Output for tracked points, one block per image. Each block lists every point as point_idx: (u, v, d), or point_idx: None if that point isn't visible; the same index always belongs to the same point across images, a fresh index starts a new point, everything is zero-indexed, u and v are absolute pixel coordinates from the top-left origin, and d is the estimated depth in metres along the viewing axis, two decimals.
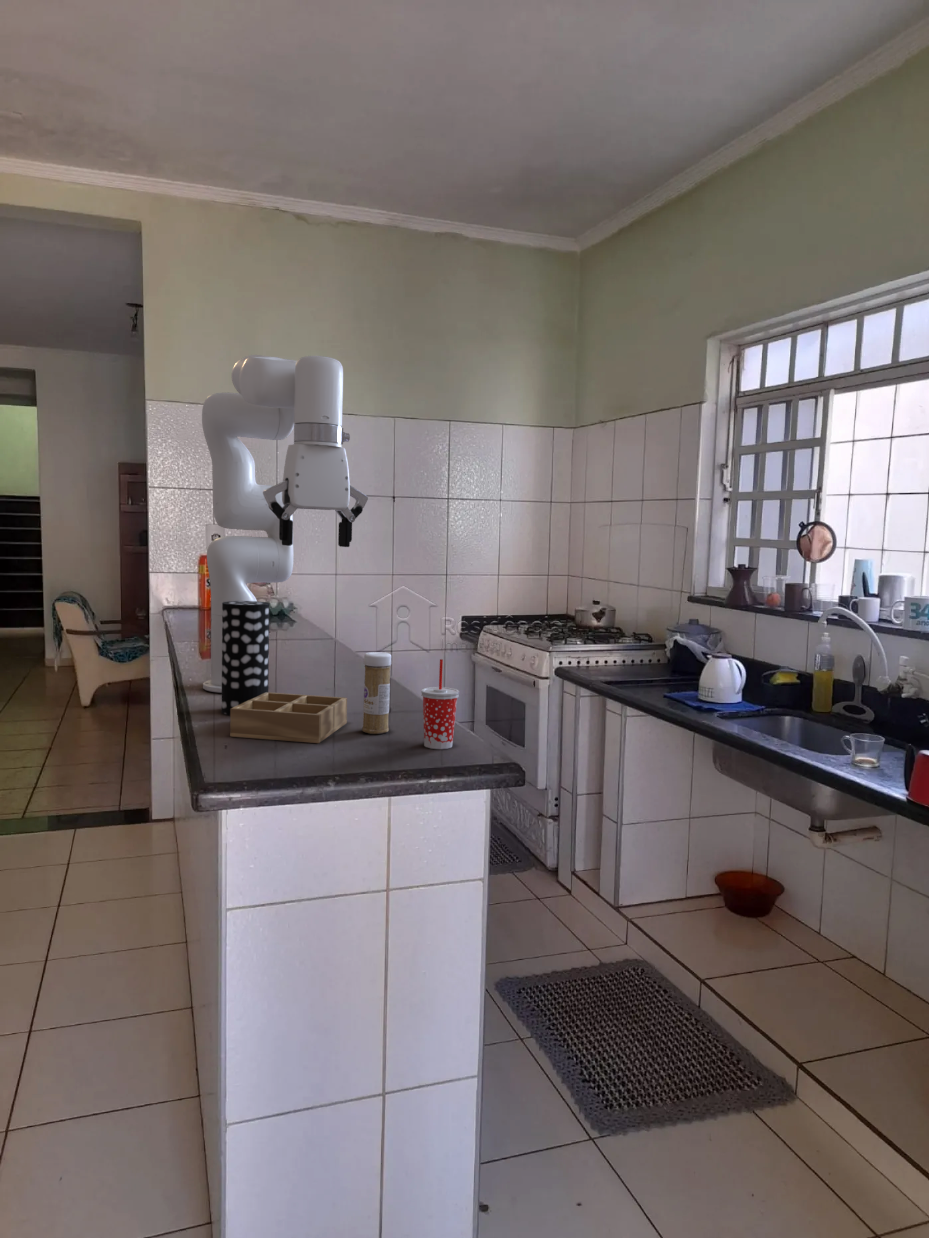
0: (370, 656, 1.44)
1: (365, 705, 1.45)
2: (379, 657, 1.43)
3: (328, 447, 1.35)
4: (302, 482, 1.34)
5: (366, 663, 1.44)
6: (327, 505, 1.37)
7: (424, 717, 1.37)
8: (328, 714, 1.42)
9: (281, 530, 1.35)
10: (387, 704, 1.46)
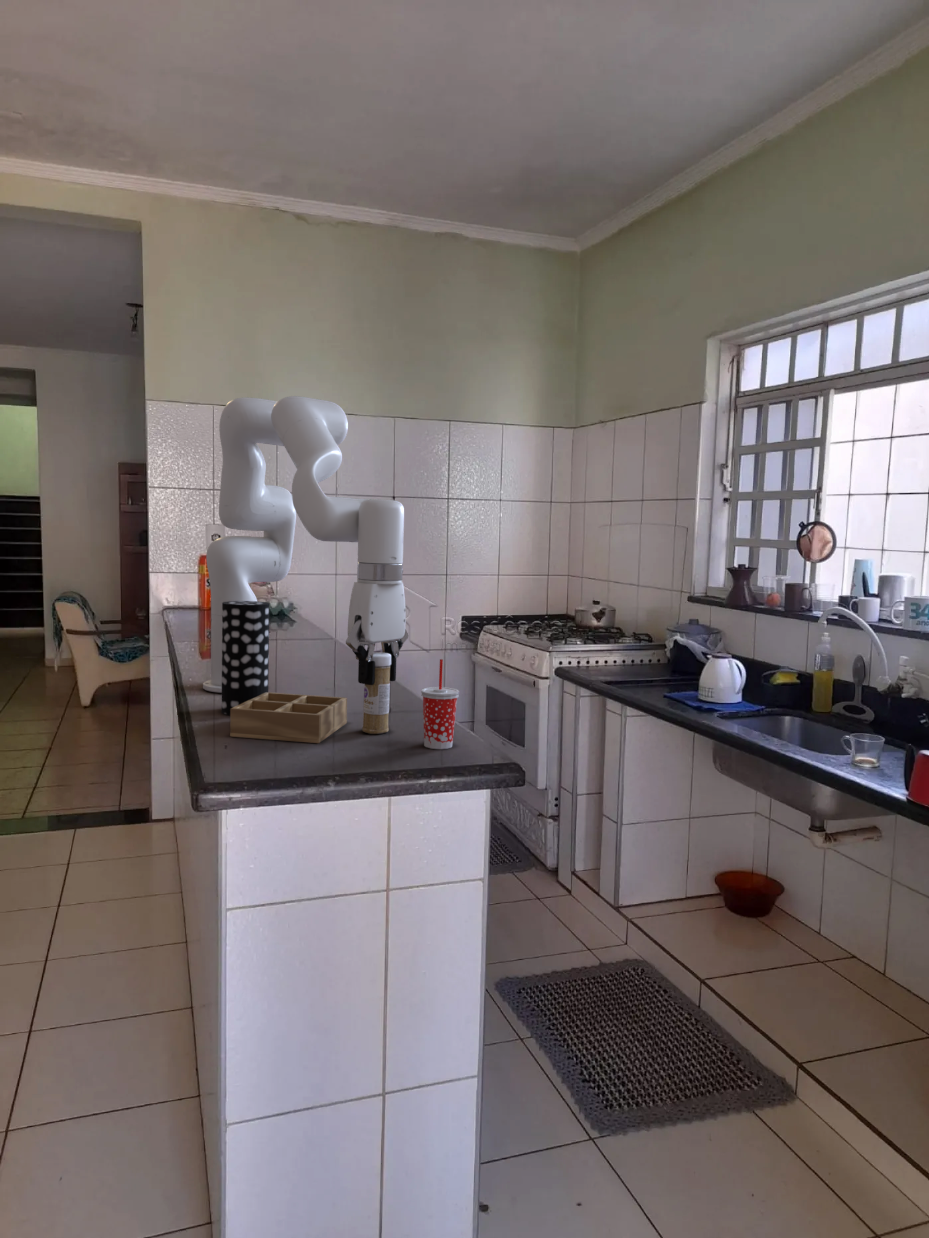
0: None
1: (365, 705, 1.45)
2: (379, 657, 1.43)
3: (394, 584, 1.43)
4: (375, 619, 1.41)
5: None
6: (391, 637, 1.45)
7: (424, 717, 1.37)
8: (328, 714, 1.42)
9: (363, 671, 1.43)
10: (387, 704, 1.46)
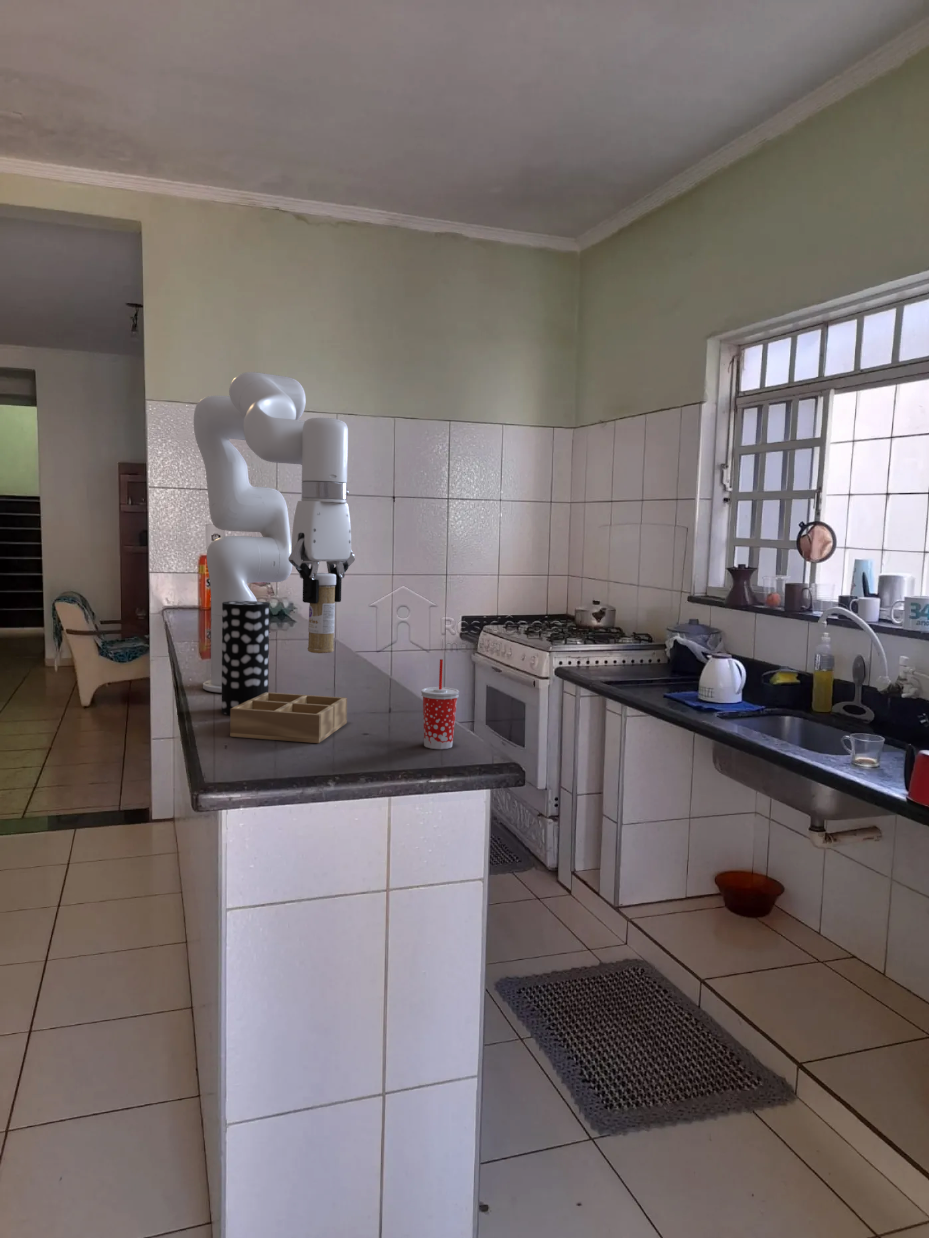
0: None
1: (310, 624, 1.46)
2: (323, 576, 1.44)
3: (338, 503, 1.44)
4: (318, 537, 1.42)
5: None
6: (335, 557, 1.46)
7: (424, 717, 1.37)
8: (328, 714, 1.42)
9: (307, 589, 1.43)
10: (332, 624, 1.46)
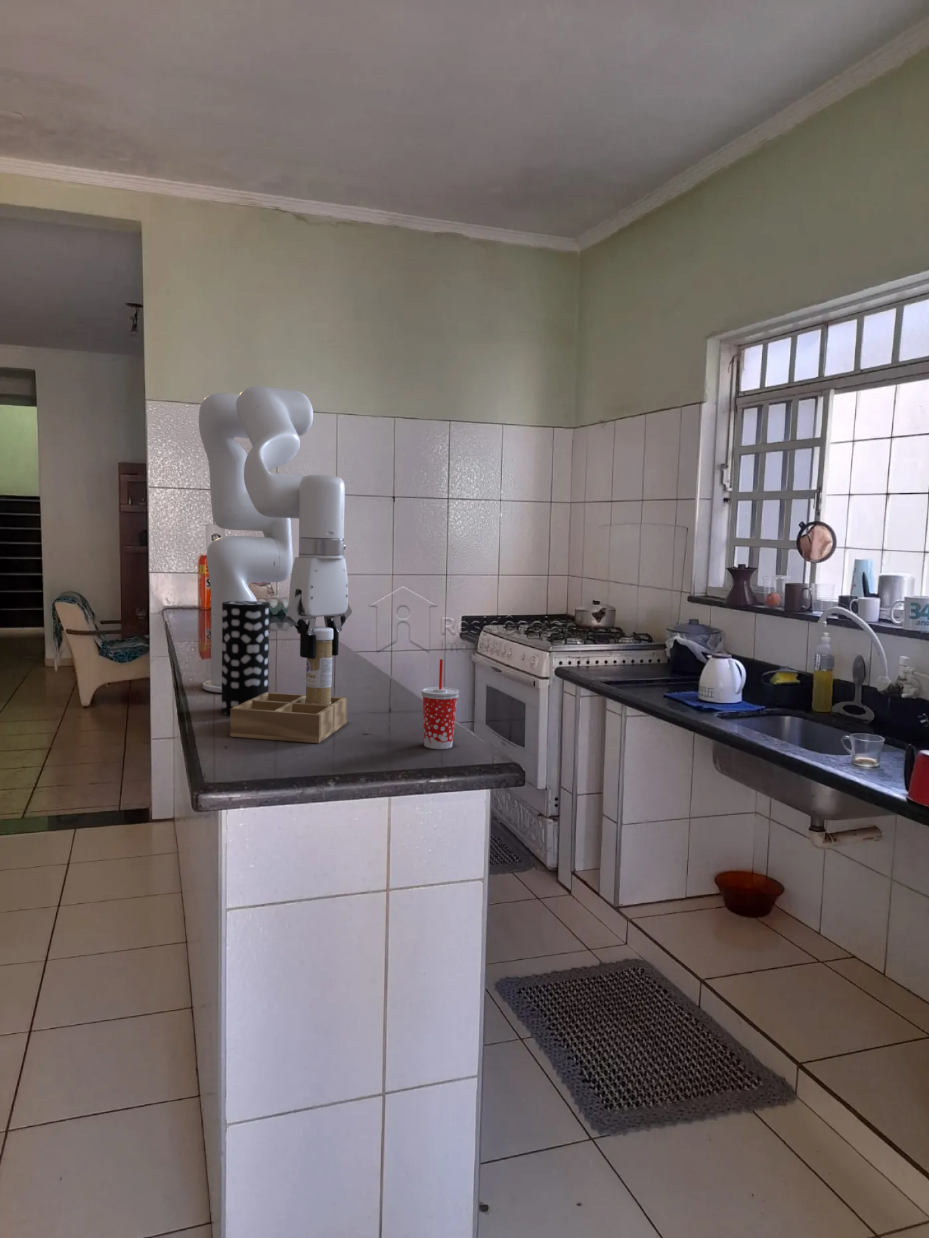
0: None
1: (307, 679, 1.47)
2: (320, 631, 1.45)
3: (335, 559, 1.45)
4: (315, 593, 1.43)
5: None
6: (332, 612, 1.47)
7: (424, 717, 1.37)
8: (328, 714, 1.42)
9: (304, 644, 1.44)
10: (329, 678, 1.47)
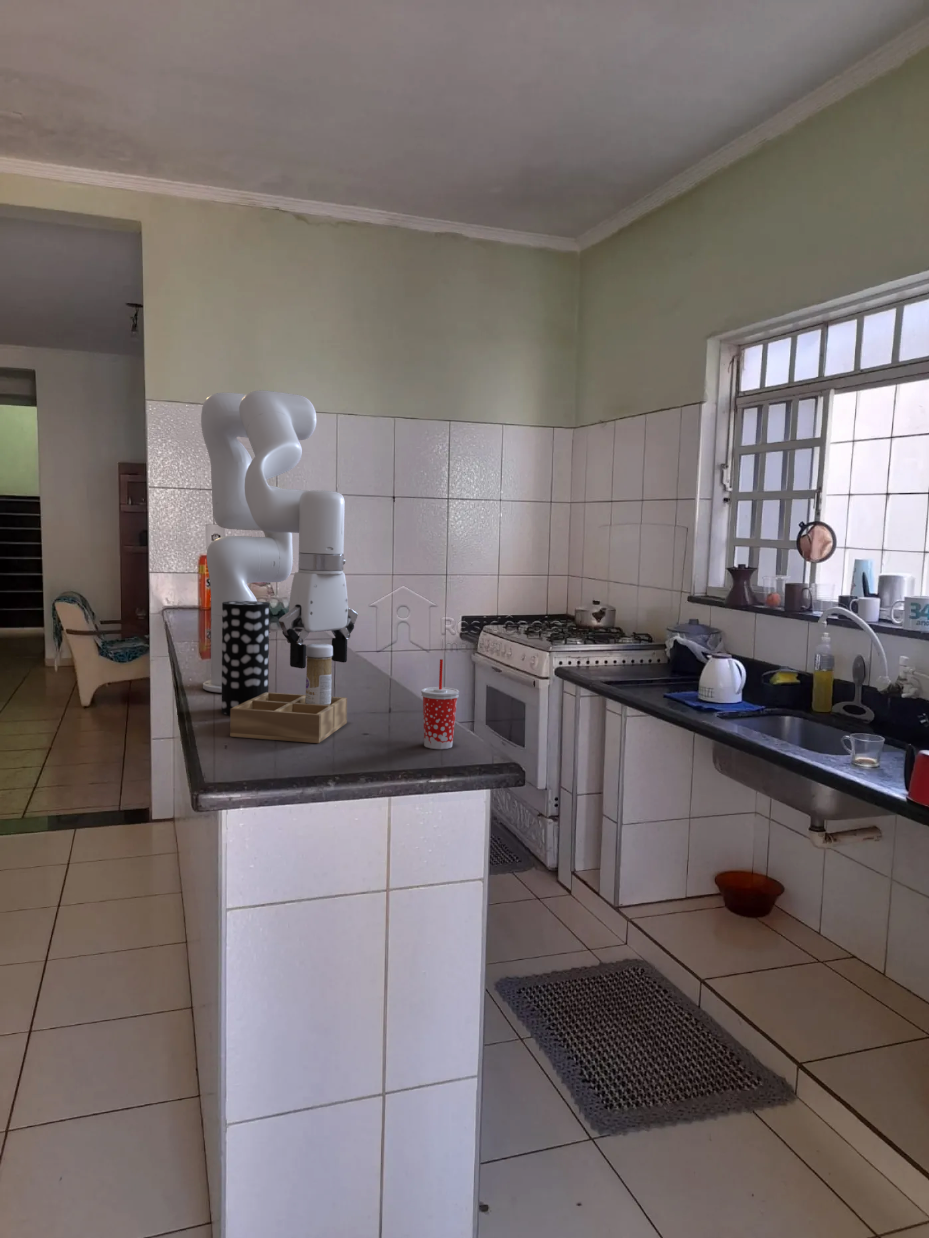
0: (311, 647, 1.46)
1: (307, 696, 1.47)
2: (320, 648, 1.45)
3: (334, 574, 1.46)
4: (315, 609, 1.43)
5: (307, 655, 1.46)
6: (332, 627, 1.47)
7: (424, 717, 1.37)
8: (328, 714, 1.42)
9: (294, 654, 1.43)
10: (328, 695, 1.48)
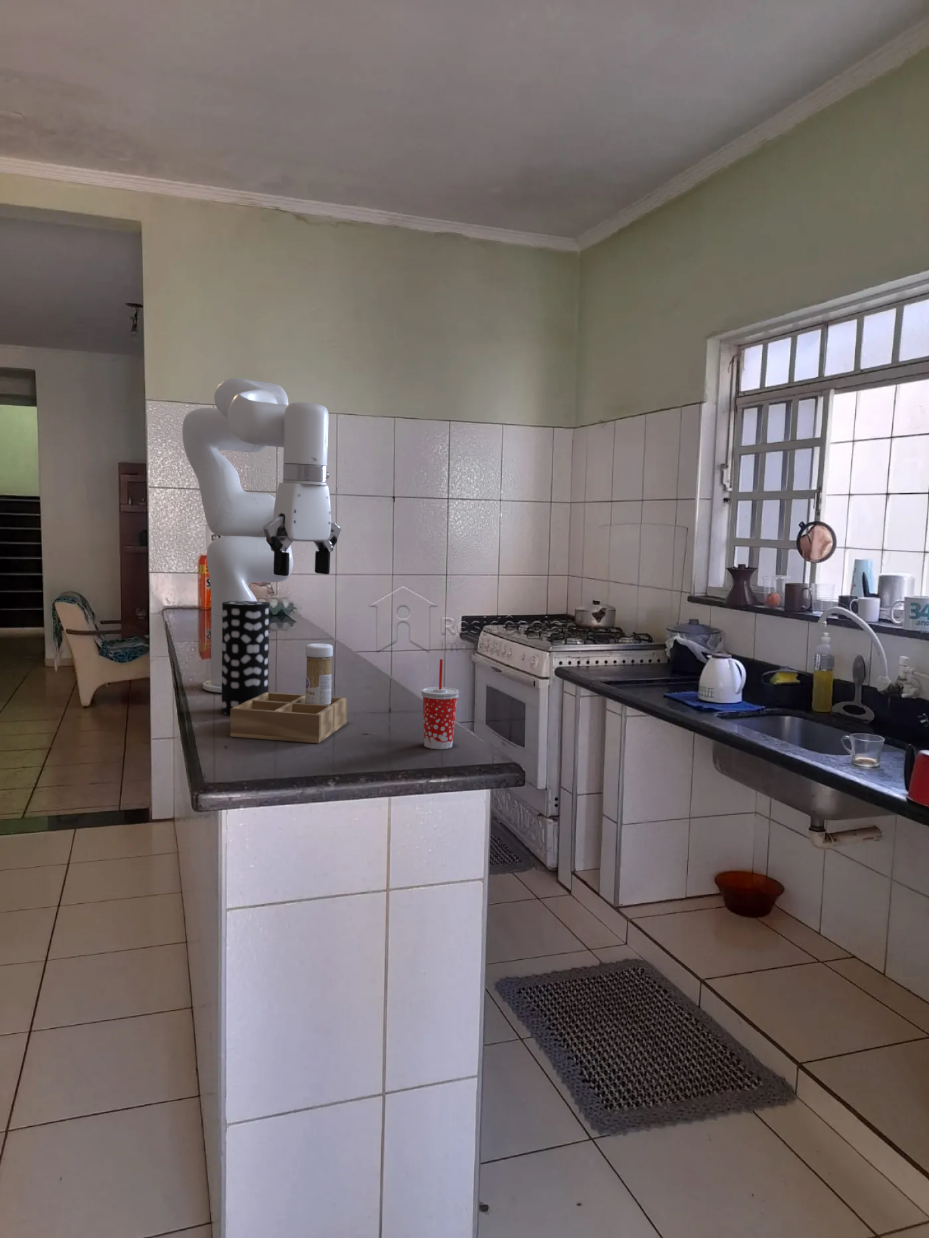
0: (311, 647, 1.46)
1: (307, 696, 1.47)
2: (320, 648, 1.45)
3: (318, 486, 1.49)
4: (298, 518, 1.47)
5: (307, 655, 1.46)
6: (315, 538, 1.51)
7: (424, 717, 1.37)
8: (328, 714, 1.42)
9: (278, 562, 1.47)
10: (328, 695, 1.48)
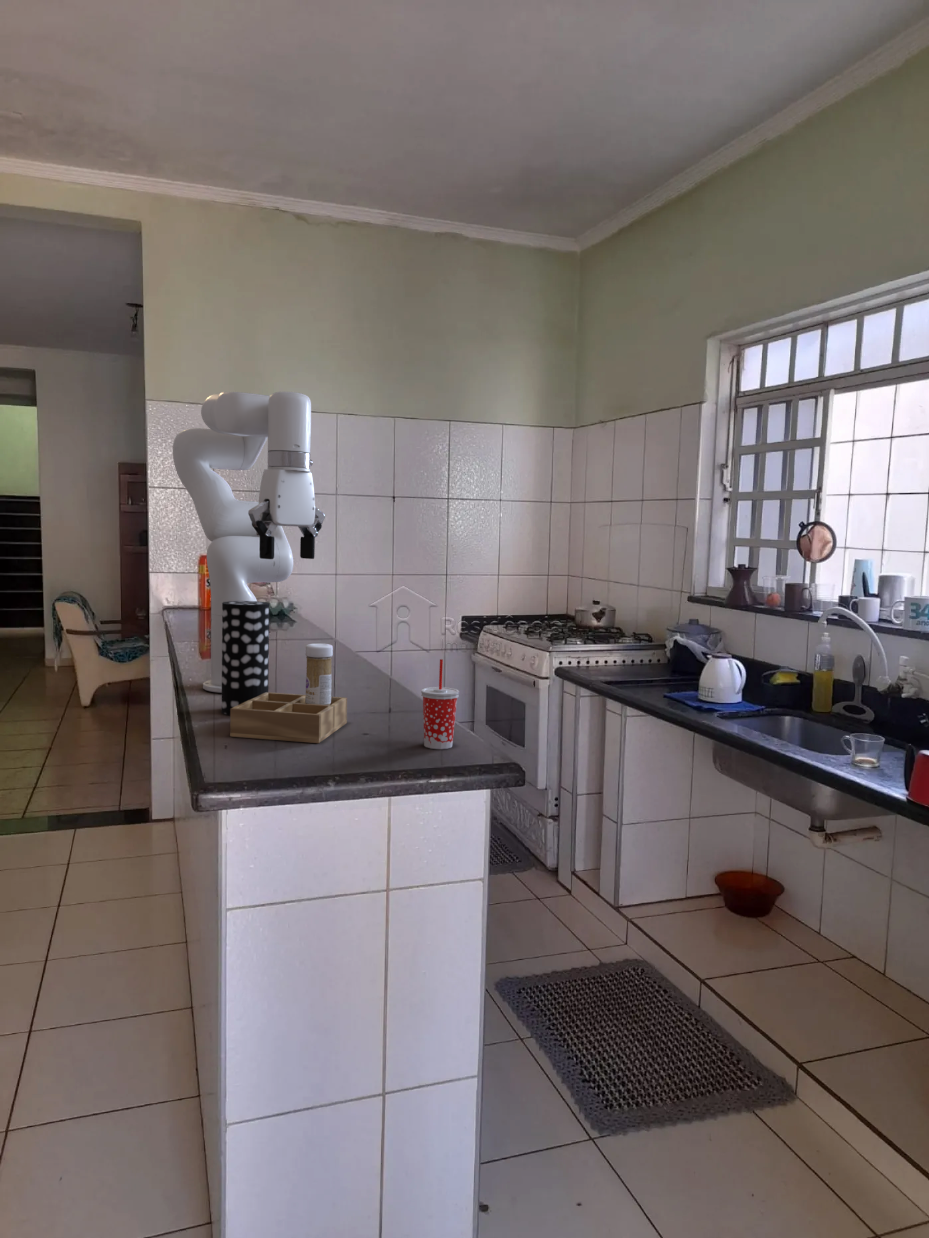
0: (311, 647, 1.46)
1: (307, 696, 1.47)
2: (320, 648, 1.45)
3: (301, 472, 1.55)
4: (283, 503, 1.52)
5: (307, 655, 1.46)
6: (300, 523, 1.56)
7: (424, 717, 1.37)
8: (328, 714, 1.42)
9: (263, 545, 1.52)
10: (328, 695, 1.48)
